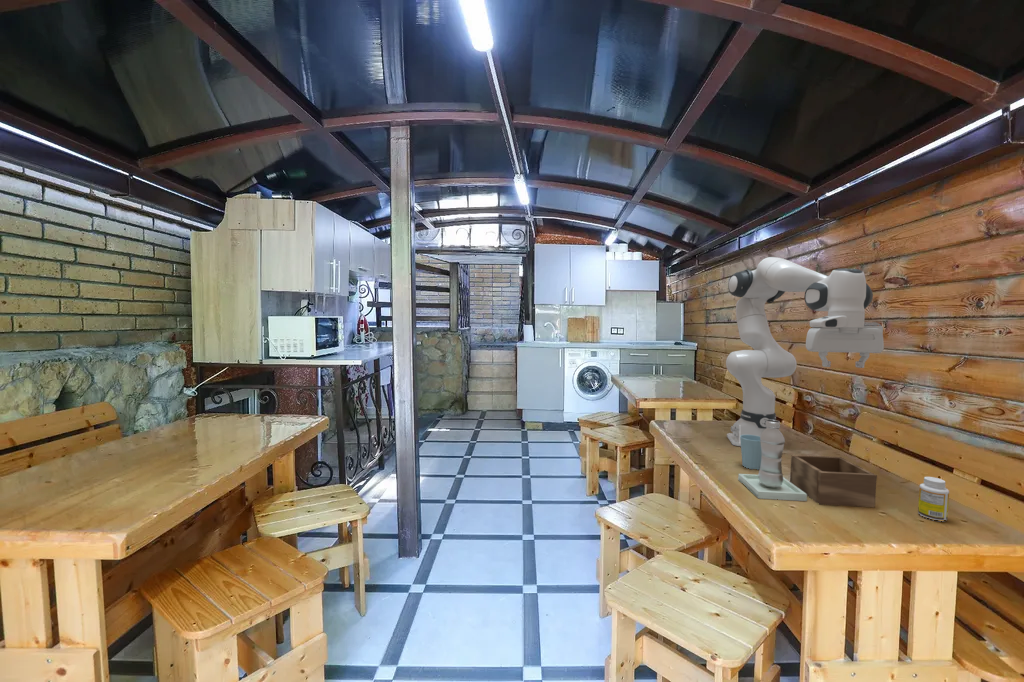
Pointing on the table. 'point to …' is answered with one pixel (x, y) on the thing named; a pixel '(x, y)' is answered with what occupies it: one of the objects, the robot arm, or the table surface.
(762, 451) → the plastic bottle
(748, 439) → the cup
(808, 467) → the box
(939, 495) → the supplement bottle
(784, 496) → the tray
